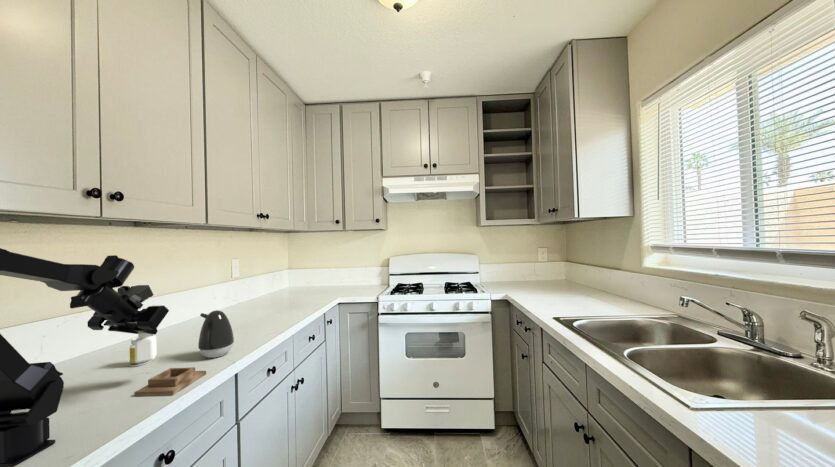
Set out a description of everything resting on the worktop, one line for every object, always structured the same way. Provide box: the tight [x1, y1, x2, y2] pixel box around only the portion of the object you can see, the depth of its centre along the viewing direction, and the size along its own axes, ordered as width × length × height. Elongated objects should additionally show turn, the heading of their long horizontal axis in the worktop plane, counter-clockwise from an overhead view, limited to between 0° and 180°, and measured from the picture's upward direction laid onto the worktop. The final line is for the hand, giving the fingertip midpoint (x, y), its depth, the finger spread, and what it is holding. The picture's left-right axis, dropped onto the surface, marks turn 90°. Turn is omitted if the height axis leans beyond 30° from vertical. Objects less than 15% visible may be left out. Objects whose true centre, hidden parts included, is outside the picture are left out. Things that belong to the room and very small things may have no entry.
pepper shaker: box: [135, 332, 157, 363], centre depth 87 cm, size 4×4×10 cm
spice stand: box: [134, 367, 207, 397], centre depth 85 cm, size 12×10×3 cm
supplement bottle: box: [129, 337, 150, 368], centre depth 100 cm, size 5×5×8 cm
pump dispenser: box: [198, 309, 235, 359], centre depth 106 cm, size 10×10×15 cm
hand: (150, 333), depth 88 cm, fingers closed on pepper shaker, 3 cm apart
